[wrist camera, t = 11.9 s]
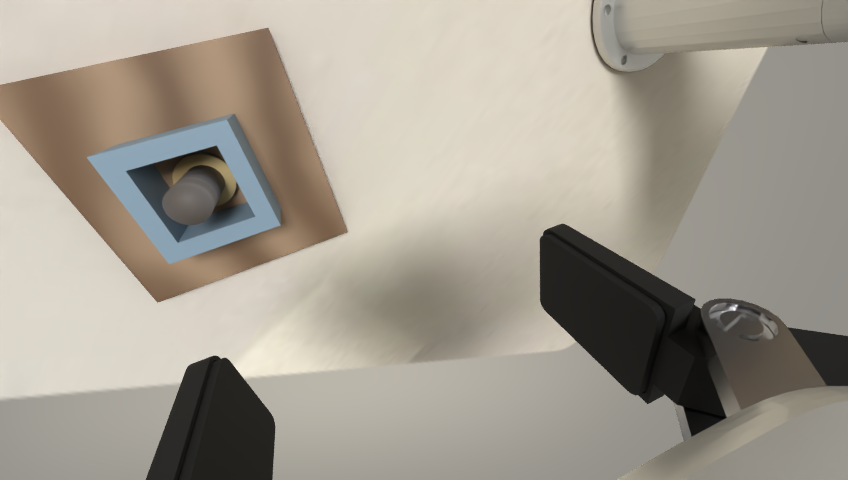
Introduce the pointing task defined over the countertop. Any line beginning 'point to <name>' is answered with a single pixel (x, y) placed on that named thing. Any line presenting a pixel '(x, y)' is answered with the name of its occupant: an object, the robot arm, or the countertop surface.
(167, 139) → the slate ring
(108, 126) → the post board
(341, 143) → the countertop surface
